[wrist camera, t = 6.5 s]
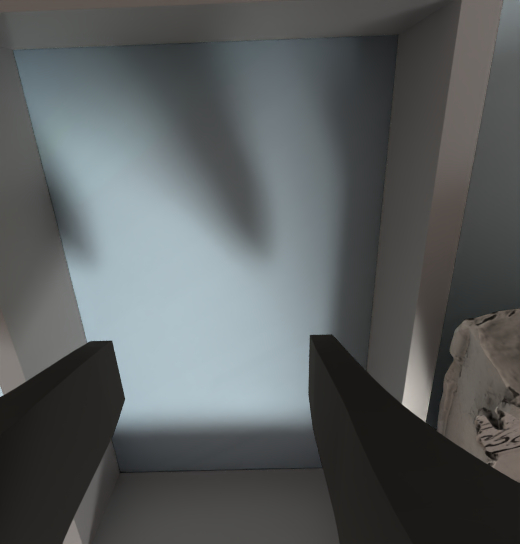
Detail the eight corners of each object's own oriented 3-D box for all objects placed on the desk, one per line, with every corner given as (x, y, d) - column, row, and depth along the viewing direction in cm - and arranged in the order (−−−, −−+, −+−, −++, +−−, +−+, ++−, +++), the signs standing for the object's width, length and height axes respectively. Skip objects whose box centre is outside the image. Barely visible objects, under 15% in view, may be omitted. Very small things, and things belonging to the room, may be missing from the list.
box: (373, 479, 17) (399, 562, 14) (106, 485, 17) (70, 569, 14) (431, -1, 10) (514, -61, 7) (-25, 17, 10) (-160, -33, 7)
